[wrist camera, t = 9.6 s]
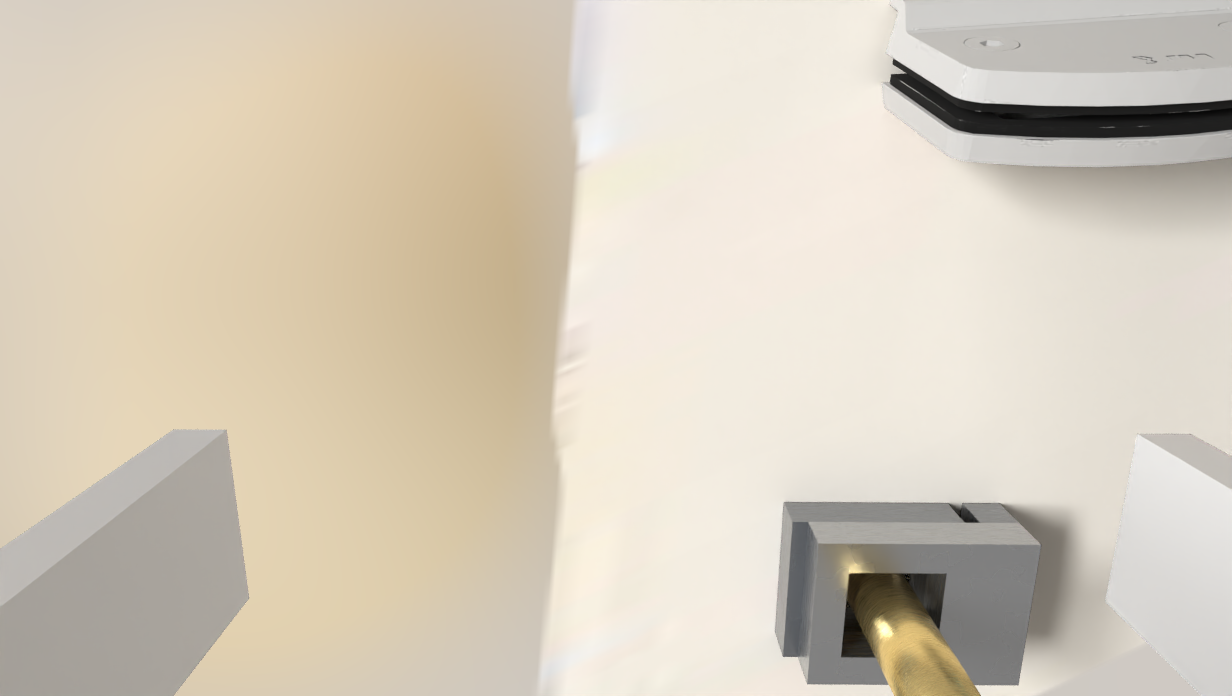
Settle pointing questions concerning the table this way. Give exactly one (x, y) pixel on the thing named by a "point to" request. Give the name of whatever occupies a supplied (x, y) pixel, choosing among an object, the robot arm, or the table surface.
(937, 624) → the grey block with pocket
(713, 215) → the table surface
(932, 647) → the pin
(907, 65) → the white piece
